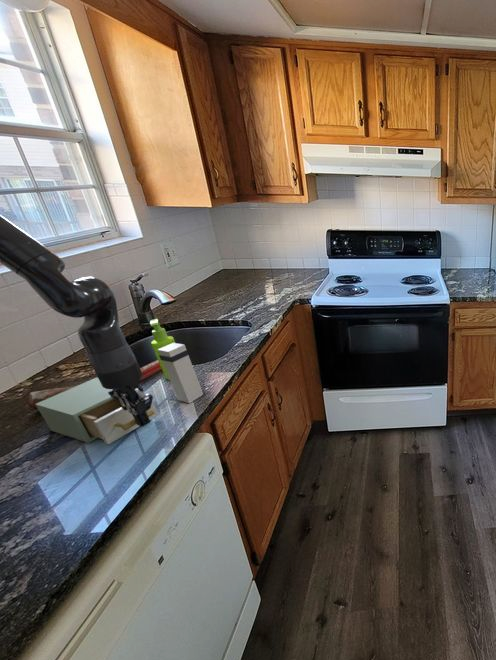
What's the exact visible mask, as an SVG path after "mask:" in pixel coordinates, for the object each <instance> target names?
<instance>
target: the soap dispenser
mask: <svg viewBox="0 0 496 660" xmlns="http://www.w3.org/2000/svg"><path fill="white" fill-rule="evenodd" d="M149 324H150V327H151V328H153V329H152V330H151V333H152V336H153V338H154V339H153V340H152V341H151V342H150V344H151V346H152V350H153V352H154V354H155V356H156V358H157V359H156V360H158V361H159V363H160V366H161V368H162V370H161V371H162V373H163V375H164V378H165V380H169V381H170V379H169V377H168V374H167V372H166V369H165V367H164V365H163V362H162V360H161V359H160V357H159V353H158V349H160V348H162V347H165V346H167V345H169V344H172V343H176V341H175V337H174V336H171V335H168V334H167V331H166V329H165V328H164V327H161V324H160V323H159V318H154V319H150V322H149Z"/></svg>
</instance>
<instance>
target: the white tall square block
mask: <svg viewBox="0 0 496 660" xmlns="http://www.w3.org/2000/svg"><path fill="white" fill-rule="evenodd" d="M158 353H159V357H160V359H161V360H162V362H163V365H164V367H165V369H166V372H167V374H168V377H169V379H170V380H169V381H170V384H171V386H172V388H173V391H174V393H175V396H176V398H177V400H178V401H180V402H184V403H188V404H191V403H192V402H193V401H195V400H197V399H198V398H200V397H202V396H204V393H203V390H202V387H201V385H200V382H199V379H198V376H197V373H196V371H195V369H194V366H193V363H192V360H191V358H190V355H189V354H190V353H189V351H188V349H187V348H186V345H185V344H183V343H178V342H177V343H176V342H175V343H172V344H169V345H167V346H165V347H162V348H160V349H158Z"/></svg>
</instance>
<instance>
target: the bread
mask: <svg viewBox="0 0 496 660" xmlns="http://www.w3.org/2000/svg"><path fill="white" fill-rule="evenodd" d="M76 386H77V385H73V386H66V387H58V388H57V387H56V388H50V389H43V390H37V391H32V392H31V391H30V393H29V394H28V402H27V403H28V405H29V407H30V409H32V410H33V411H34V410H35V411H39V410H38V408H37V407H36V405H35V404H37V403H39V402H41V401H44V400H46V399H48V398H51V397H53V396H55V395H57V394H60V393H62V392H64V391H67V390H69V389H71V388H74V387H76Z"/></svg>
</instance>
